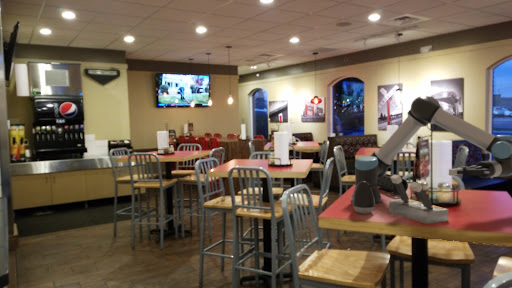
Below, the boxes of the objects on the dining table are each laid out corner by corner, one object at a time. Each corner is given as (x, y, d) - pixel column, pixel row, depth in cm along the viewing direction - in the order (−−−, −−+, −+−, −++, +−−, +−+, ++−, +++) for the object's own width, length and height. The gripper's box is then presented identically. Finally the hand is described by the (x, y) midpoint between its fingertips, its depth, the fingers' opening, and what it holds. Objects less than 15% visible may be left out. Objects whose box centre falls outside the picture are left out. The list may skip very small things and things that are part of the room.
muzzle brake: (392, 196, 219) (392, 178, 218) (371, 187, 247) (371, 171, 246) (408, 195, 220) (408, 177, 220) (385, 186, 248) (385, 170, 247)
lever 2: (424, 209, 170) (409, 185, 166) (428, 205, 171) (413, 181, 167) (431, 211, 167) (415, 187, 163) (435, 207, 168) (419, 182, 164)
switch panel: (389, 212, 184) (389, 201, 184) (408, 209, 189) (408, 198, 188) (426, 224, 163) (427, 211, 163) (448, 220, 167) (448, 208, 167)
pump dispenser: (371, 216, 177) (371, 183, 176) (349, 213, 183) (349, 181, 182) (377, 211, 186) (378, 180, 185) (356, 209, 191) (356, 178, 190)
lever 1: (401, 202, 183) (390, 177, 180) (405, 199, 184) (394, 174, 181) (407, 204, 180) (395, 178, 177) (411, 201, 181) (399, 175, 177)
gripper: (500, 179, 175) (462, 183, 166) (474, 175, 187) (437, 178, 178) (501, 163, 174) (463, 165, 166) (475, 159, 186) (438, 162, 178)
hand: (450, 172), depth 172 cm, fingers closed
